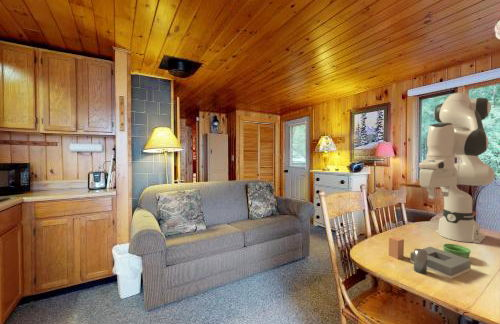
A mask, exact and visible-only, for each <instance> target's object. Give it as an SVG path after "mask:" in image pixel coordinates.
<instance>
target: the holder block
mask: <svg viewBox="0 0 500 324" xmlns="http://www.w3.org/2000/svg"><path fill="white" fill-rule="evenodd" d="M422 249H423V250H425V251H427V271H431V272H433V273H435V274H439V275H440V276H443V277H445V278H448V279H450V280H452V279H454V278H456V277H458V276H459V277H460V276H461V275H463V274H465V273H467V272H469V271H471V264H472V259H470V258H469V259H466V258H463V257H460V256H457V255H454V254H451V253H448V252H445V251H444V250H442V249H440V248H436V247H433V246H428V247H425V248H422ZM409 256H410V260H409V261H410V264H411V263H412V264H413V265H414V251H411V252H410V255H409Z"/></svg>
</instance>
